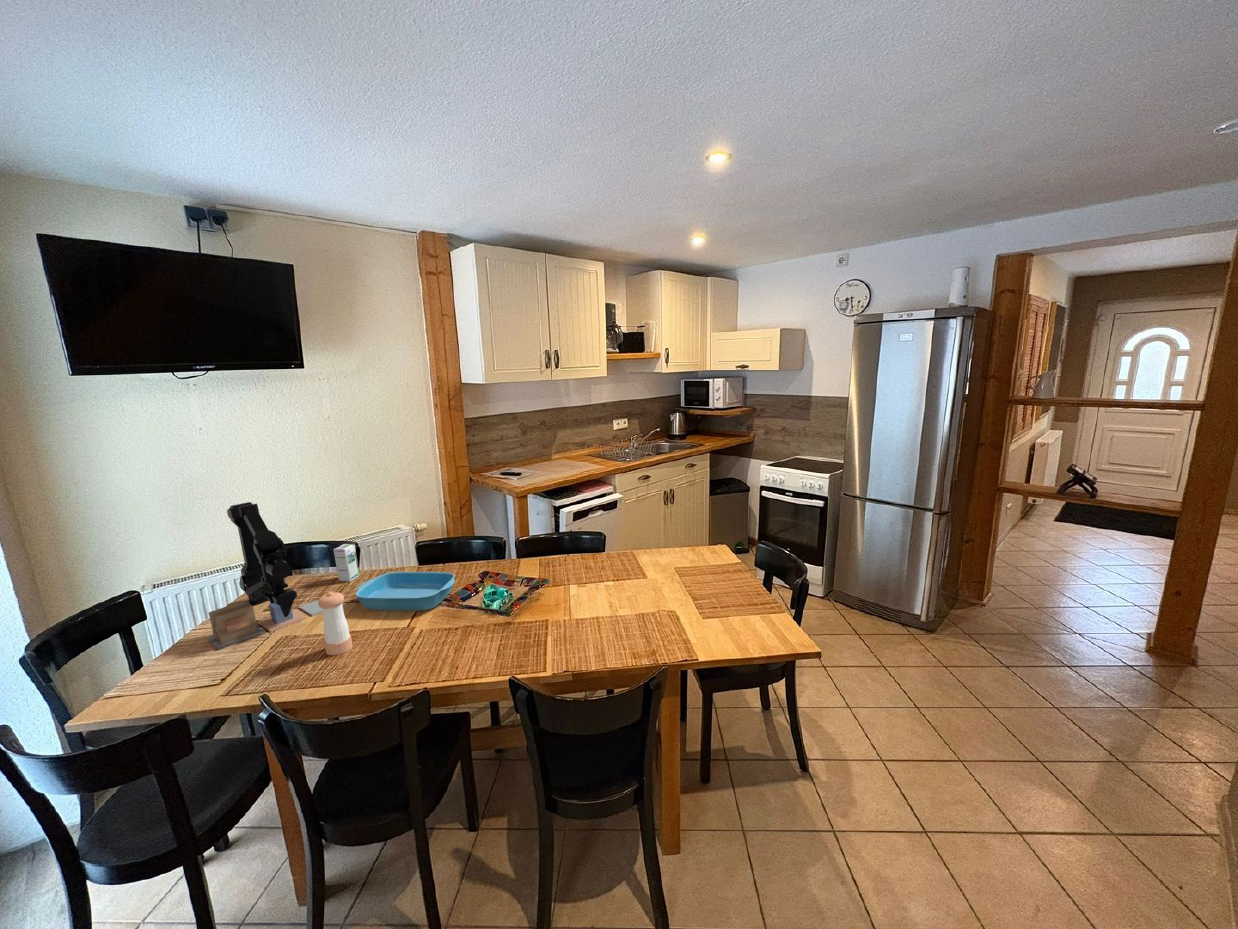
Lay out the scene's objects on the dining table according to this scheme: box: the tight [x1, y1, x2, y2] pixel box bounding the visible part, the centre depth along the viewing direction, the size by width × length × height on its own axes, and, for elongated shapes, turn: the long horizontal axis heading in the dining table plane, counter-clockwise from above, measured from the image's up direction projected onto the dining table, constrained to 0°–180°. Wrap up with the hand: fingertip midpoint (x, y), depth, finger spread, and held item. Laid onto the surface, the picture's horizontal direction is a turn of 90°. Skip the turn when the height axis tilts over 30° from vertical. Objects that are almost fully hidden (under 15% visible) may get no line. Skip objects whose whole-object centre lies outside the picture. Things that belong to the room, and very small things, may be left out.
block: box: [268, 603, 293, 624], centre depth 175 cm, size 5×5×6 cm
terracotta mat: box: [258, 608, 307, 633], centre depth 175 cm, size 11×11×1 cm
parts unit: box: [207, 599, 266, 651], centre depth 165 cm, size 11×13×10 cm
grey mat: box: [299, 599, 344, 617], centre depth 185 cm, size 11×11×1 cm
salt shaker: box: [318, 591, 353, 656], centre depth 154 cm, size 7×7×19 cm
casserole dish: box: [354, 571, 456, 612], centre depth 186 cm, size 37×22×7 cm, turn 82°
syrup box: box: [332, 543, 361, 582], centre depth 208 cm, size 6×6×14 cm
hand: (281, 613), depth 175 cm, fingers open, 9 cm apart
